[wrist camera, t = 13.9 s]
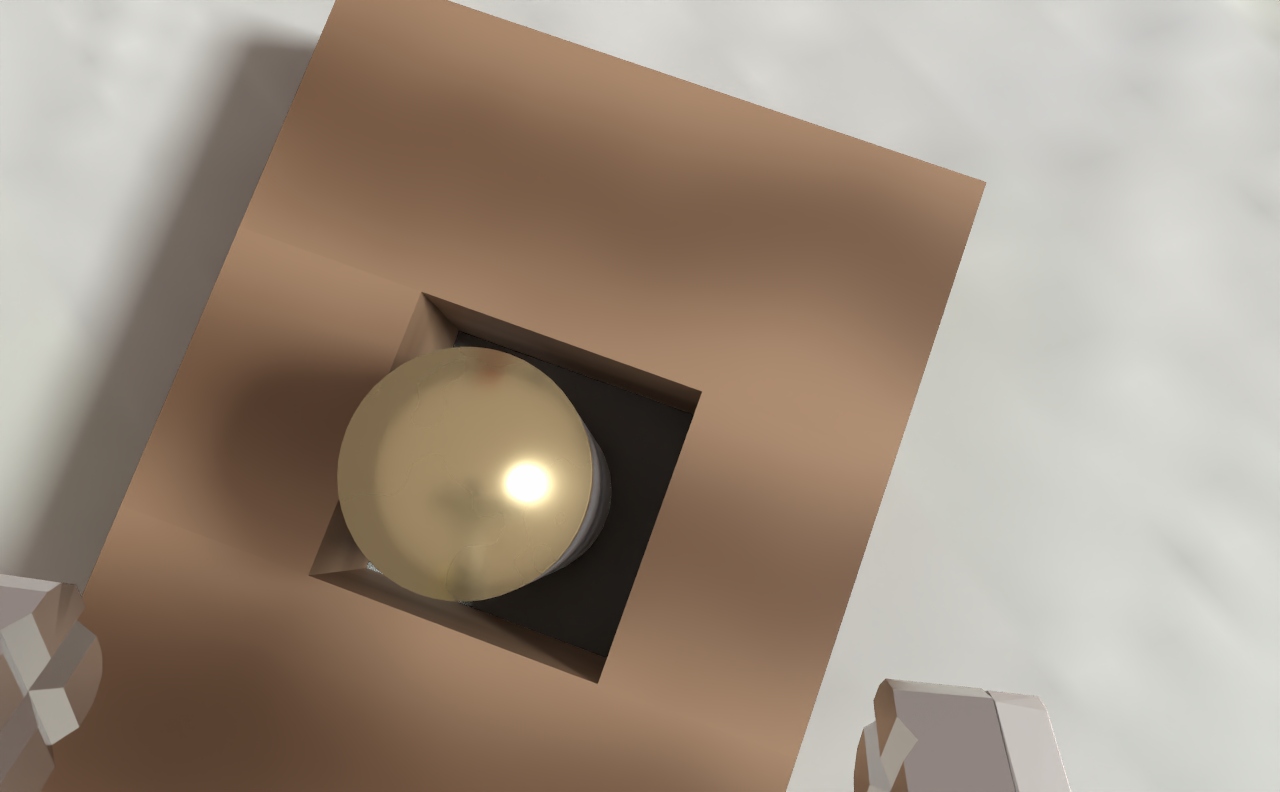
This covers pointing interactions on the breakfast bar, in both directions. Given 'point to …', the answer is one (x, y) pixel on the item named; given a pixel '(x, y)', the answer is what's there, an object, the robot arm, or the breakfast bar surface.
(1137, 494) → the breakfast bar surface
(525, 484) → the key peg
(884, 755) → the robot arm
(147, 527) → the chuck block
